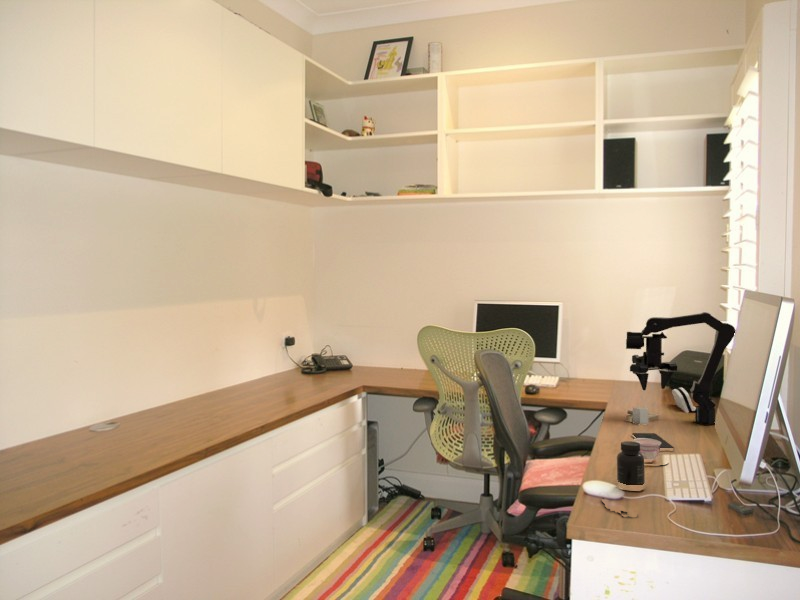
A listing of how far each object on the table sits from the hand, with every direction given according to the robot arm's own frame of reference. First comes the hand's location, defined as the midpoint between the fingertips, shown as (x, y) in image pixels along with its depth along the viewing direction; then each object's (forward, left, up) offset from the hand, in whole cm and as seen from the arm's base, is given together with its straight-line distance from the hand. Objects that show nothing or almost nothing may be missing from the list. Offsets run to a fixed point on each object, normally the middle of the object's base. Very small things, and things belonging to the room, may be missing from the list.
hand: (653, 389), depth 249 cm
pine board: (+1, +4, -12) cm, 13 cm away
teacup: (-44, +43, -12) cm, 63 cm away
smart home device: (-28, +26, -13) cm, 40 cm away
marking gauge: (-1, +9, -12) cm, 15 cm away
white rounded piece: (+13, -28, -12) cm, 33 cm away
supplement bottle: (-63, +65, -12) cm, 91 cm away
